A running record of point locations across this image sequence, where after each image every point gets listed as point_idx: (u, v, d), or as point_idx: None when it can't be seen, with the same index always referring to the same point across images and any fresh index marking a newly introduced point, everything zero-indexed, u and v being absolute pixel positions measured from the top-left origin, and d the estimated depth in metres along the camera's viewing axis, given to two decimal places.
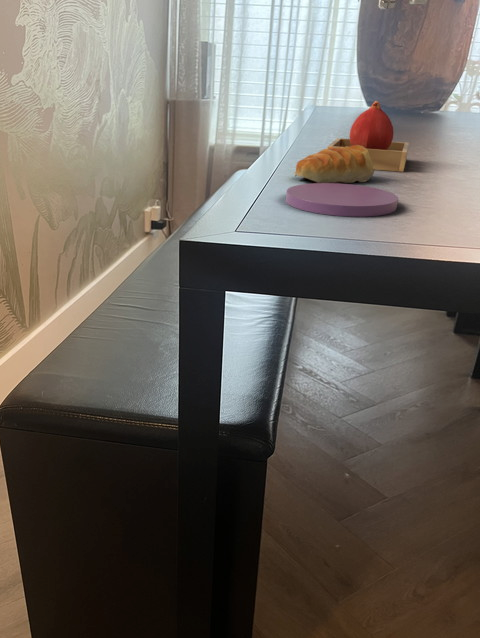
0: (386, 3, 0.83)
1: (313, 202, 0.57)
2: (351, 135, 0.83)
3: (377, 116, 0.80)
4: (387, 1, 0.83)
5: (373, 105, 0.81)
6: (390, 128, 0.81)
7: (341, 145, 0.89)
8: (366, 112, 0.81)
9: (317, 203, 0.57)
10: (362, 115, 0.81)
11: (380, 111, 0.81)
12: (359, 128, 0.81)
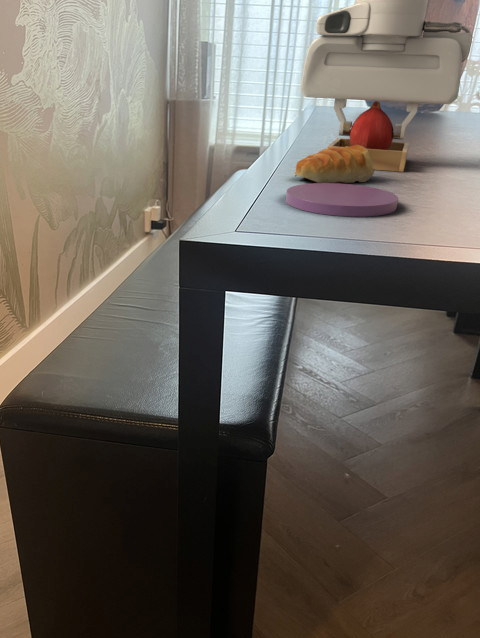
0: (349, 131, 0.83)
1: (313, 202, 0.57)
2: (351, 135, 0.83)
3: (377, 116, 0.80)
4: (349, 129, 0.83)
5: (373, 105, 0.81)
6: (390, 128, 0.81)
7: (341, 145, 0.89)
8: (366, 112, 0.81)
9: (317, 203, 0.57)
10: (362, 115, 0.81)
11: (380, 111, 0.81)
12: (359, 128, 0.81)
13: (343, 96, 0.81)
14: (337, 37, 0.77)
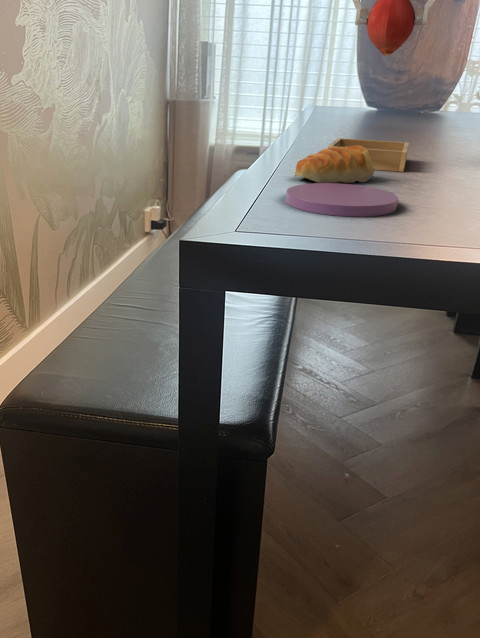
0: (366, 19, 0.77)
1: (313, 202, 0.57)
2: (369, 23, 0.76)
3: None
4: (367, 17, 0.77)
5: None
6: (412, 11, 0.74)
7: (341, 145, 0.89)
8: None
9: (317, 203, 0.57)
10: None
11: None
12: (378, 12, 0.74)
13: None
14: None
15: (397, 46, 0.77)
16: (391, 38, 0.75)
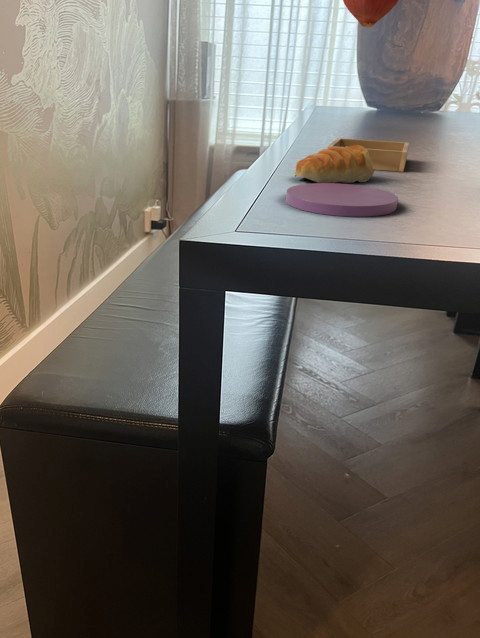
0: None
1: (313, 202, 0.57)
2: None
3: None
4: None
5: None
6: None
7: (341, 145, 0.89)
8: None
9: (317, 203, 0.57)
10: None
11: None
12: None
13: None
14: None
15: (381, 13, 0.55)
16: (373, 2, 0.53)
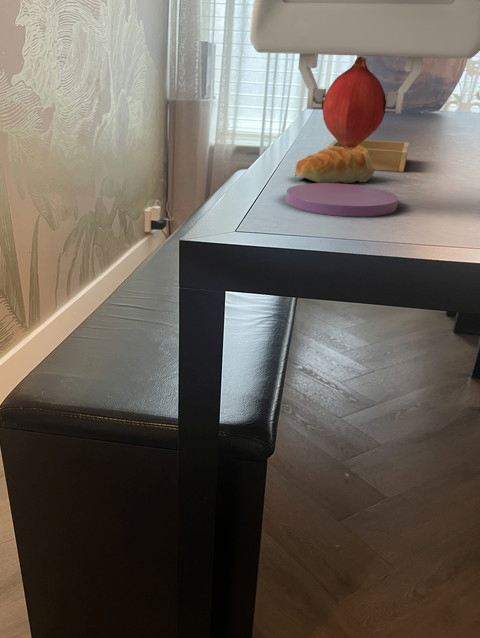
0: None
1: (313, 202, 0.57)
2: (324, 108, 0.57)
3: (362, 79, 0.54)
4: (322, 100, 0.57)
5: (356, 62, 0.55)
6: (381, 96, 0.55)
7: (341, 145, 0.89)
8: (346, 73, 0.55)
9: (317, 203, 0.57)
10: (340, 78, 0.55)
11: (367, 72, 0.55)
12: (335, 96, 0.55)
13: (311, 49, 0.54)
14: None
15: (362, 139, 0.57)
16: (353, 131, 0.56)
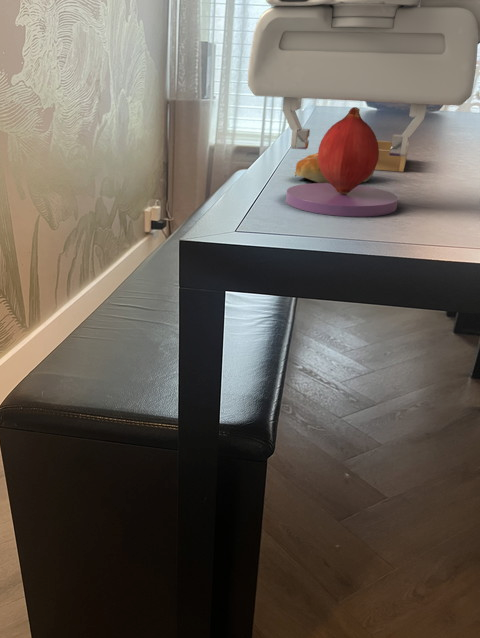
0: (305, 143, 0.60)
1: (313, 202, 0.57)
2: (319, 155, 0.59)
3: (356, 129, 0.56)
4: (306, 140, 0.60)
5: (350, 113, 0.57)
6: (374, 145, 0.57)
7: None
8: (340, 123, 0.57)
9: (317, 203, 0.57)
10: (334, 127, 0.57)
11: (360, 122, 0.57)
12: (330, 145, 0.57)
13: (307, 94, 0.56)
14: (295, 8, 0.53)
15: (356, 185, 0.59)
16: (347, 178, 0.58)
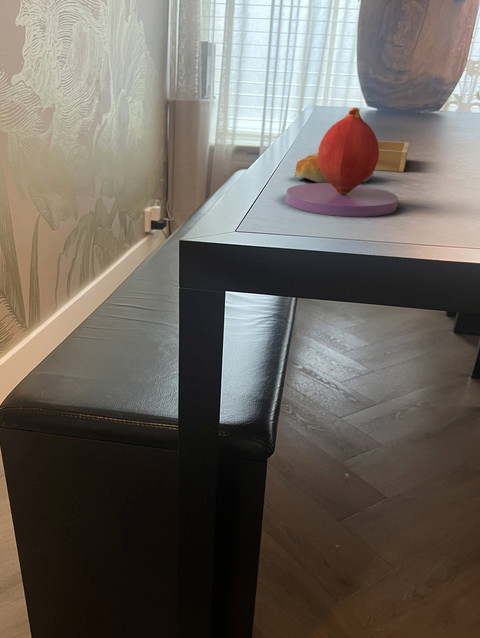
0: None
1: (313, 202, 0.57)
2: (319, 155, 0.59)
3: (356, 129, 0.56)
4: None
5: (350, 113, 0.57)
6: (374, 145, 0.57)
7: None
8: (340, 123, 0.57)
9: (317, 203, 0.57)
10: (334, 127, 0.57)
11: (360, 122, 0.57)
12: (330, 145, 0.57)
13: None
14: None
15: (356, 185, 0.59)
16: (347, 178, 0.58)
